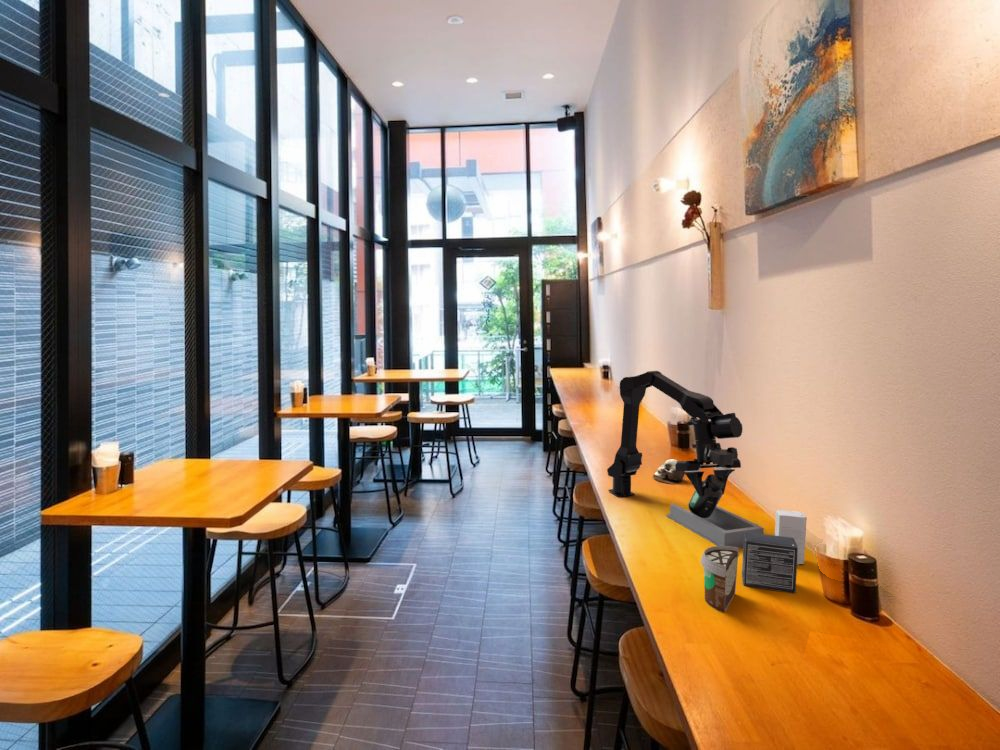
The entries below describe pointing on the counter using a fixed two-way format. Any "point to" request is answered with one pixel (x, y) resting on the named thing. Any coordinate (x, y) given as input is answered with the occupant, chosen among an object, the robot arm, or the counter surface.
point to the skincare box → (792, 529)
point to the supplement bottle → (707, 497)
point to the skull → (669, 473)
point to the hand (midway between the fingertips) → (711, 495)
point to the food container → (720, 575)
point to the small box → (769, 562)
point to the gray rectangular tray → (716, 525)
